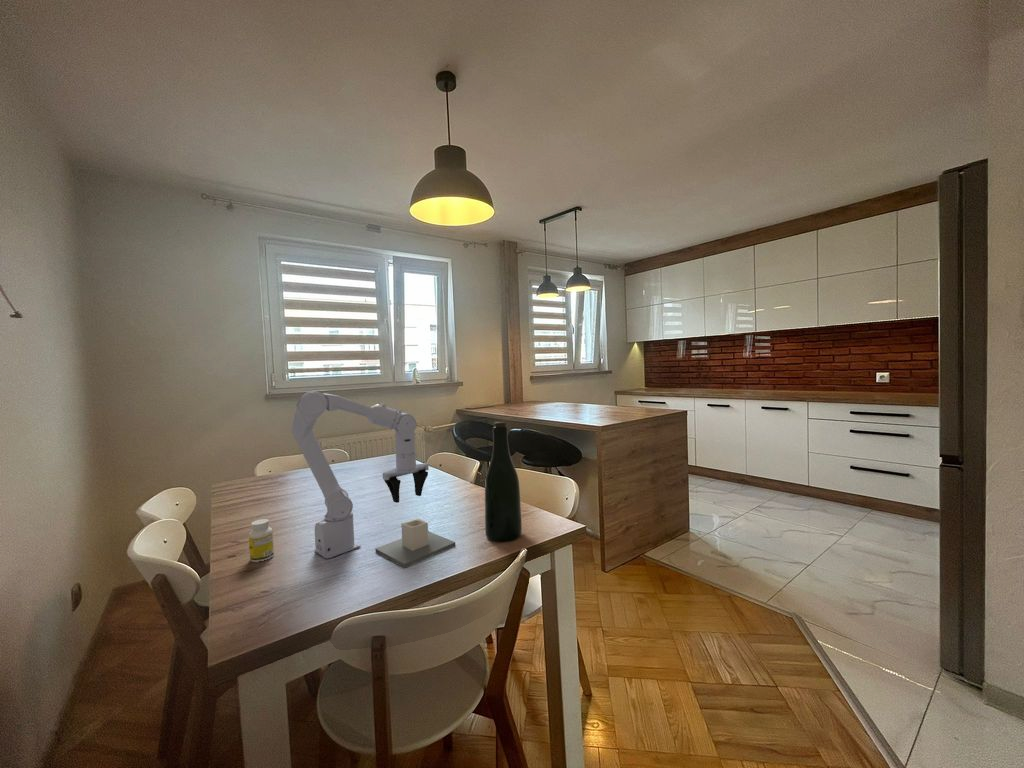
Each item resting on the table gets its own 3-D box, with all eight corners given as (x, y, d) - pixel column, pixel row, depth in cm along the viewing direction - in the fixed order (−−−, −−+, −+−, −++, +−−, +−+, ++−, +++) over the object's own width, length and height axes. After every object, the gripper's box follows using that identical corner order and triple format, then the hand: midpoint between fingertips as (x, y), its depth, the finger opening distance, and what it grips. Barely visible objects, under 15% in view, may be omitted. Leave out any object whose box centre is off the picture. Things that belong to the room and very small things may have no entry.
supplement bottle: (252, 555, 108) (251, 519, 108) (275, 552, 110) (274, 516, 110) (247, 564, 103) (245, 526, 103) (271, 560, 105) (269, 523, 105)
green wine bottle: (528, 538, 114) (525, 422, 113) (495, 546, 108) (491, 425, 107) (510, 526, 123) (507, 418, 122) (479, 534, 118) (475, 421, 117)
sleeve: (412, 550, 105) (411, 528, 105) (402, 545, 109) (401, 523, 109) (428, 544, 109) (427, 522, 109) (417, 539, 112) (417, 518, 112)
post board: (404, 567, 98) (403, 543, 98) (375, 552, 108) (374, 530, 107) (455, 545, 110) (454, 524, 110) (425, 533, 119) (424, 513, 119)
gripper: (391, 459, 111) (393, 507, 112) (433, 450, 122) (435, 494, 122) (378, 456, 116) (380, 502, 116) (420, 448, 127) (422, 490, 127)
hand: (407, 498), depth 120 cm, fingers open, 7 cm apart
